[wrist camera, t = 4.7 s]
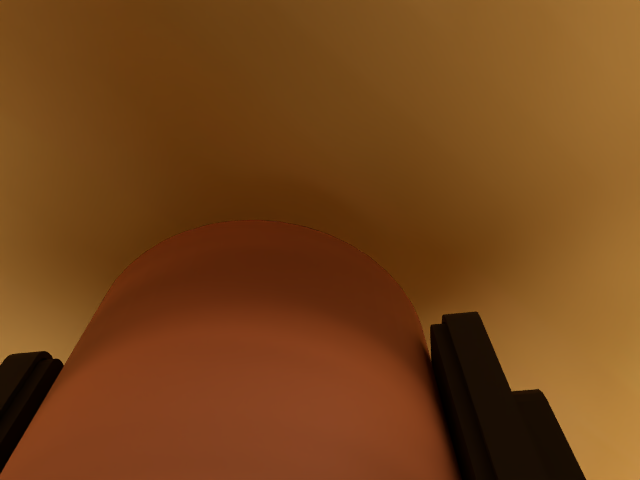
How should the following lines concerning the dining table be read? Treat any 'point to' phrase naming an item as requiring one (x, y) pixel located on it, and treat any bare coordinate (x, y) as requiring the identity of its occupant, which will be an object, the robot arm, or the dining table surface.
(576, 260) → the dining table surface
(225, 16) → the dining table surface
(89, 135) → the dining table surface
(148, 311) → the reddish pink cylinder
